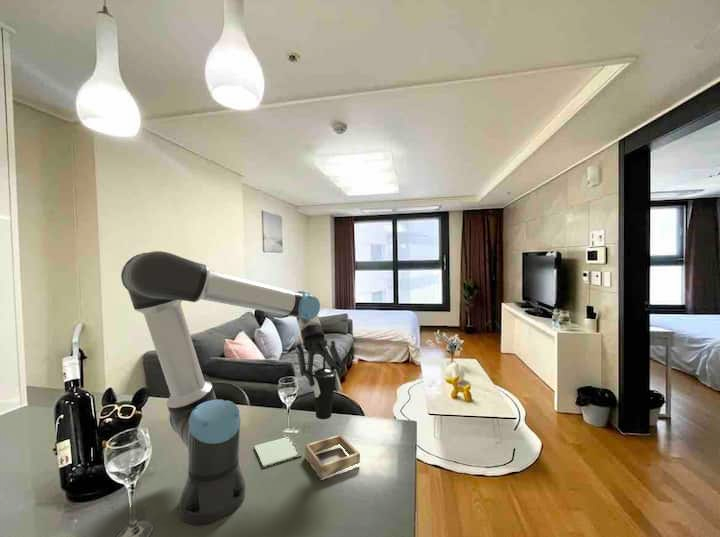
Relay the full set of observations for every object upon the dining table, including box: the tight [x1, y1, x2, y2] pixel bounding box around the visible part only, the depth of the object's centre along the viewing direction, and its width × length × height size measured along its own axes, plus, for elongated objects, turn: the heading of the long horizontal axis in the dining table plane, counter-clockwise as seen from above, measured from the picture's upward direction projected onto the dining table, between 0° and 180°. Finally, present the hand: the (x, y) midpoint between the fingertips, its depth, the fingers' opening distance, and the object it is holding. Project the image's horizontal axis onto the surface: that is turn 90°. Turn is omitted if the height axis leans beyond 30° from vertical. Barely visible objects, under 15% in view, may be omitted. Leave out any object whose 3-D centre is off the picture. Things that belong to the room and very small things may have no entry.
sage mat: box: [253, 436, 298, 466], centre depth 99 cm, size 12×12×1 cm
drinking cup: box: [312, 352, 336, 420], centre depth 96 cm, size 8×8×20 cm
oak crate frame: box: [304, 434, 361, 479], centre depth 94 cm, size 13×13×4 cm
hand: (328, 393), depth 93 cm, fingers closed on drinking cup, 6 cm apart
